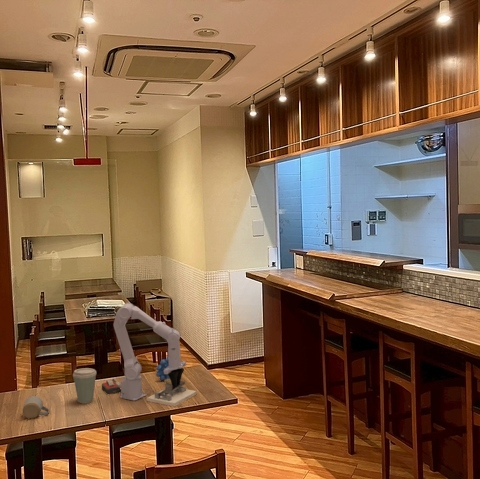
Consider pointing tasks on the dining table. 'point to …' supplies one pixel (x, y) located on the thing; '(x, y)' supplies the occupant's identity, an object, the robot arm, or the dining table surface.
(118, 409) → the dining table surface
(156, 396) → the latch base plate
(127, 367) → the robot arm
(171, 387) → the strap
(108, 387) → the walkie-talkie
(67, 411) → the dining table surface
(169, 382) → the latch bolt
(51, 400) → the dining table surface
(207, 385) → the dining table surface
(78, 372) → the disposable coffee cup
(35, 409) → the ceramic mug
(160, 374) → the grapes
